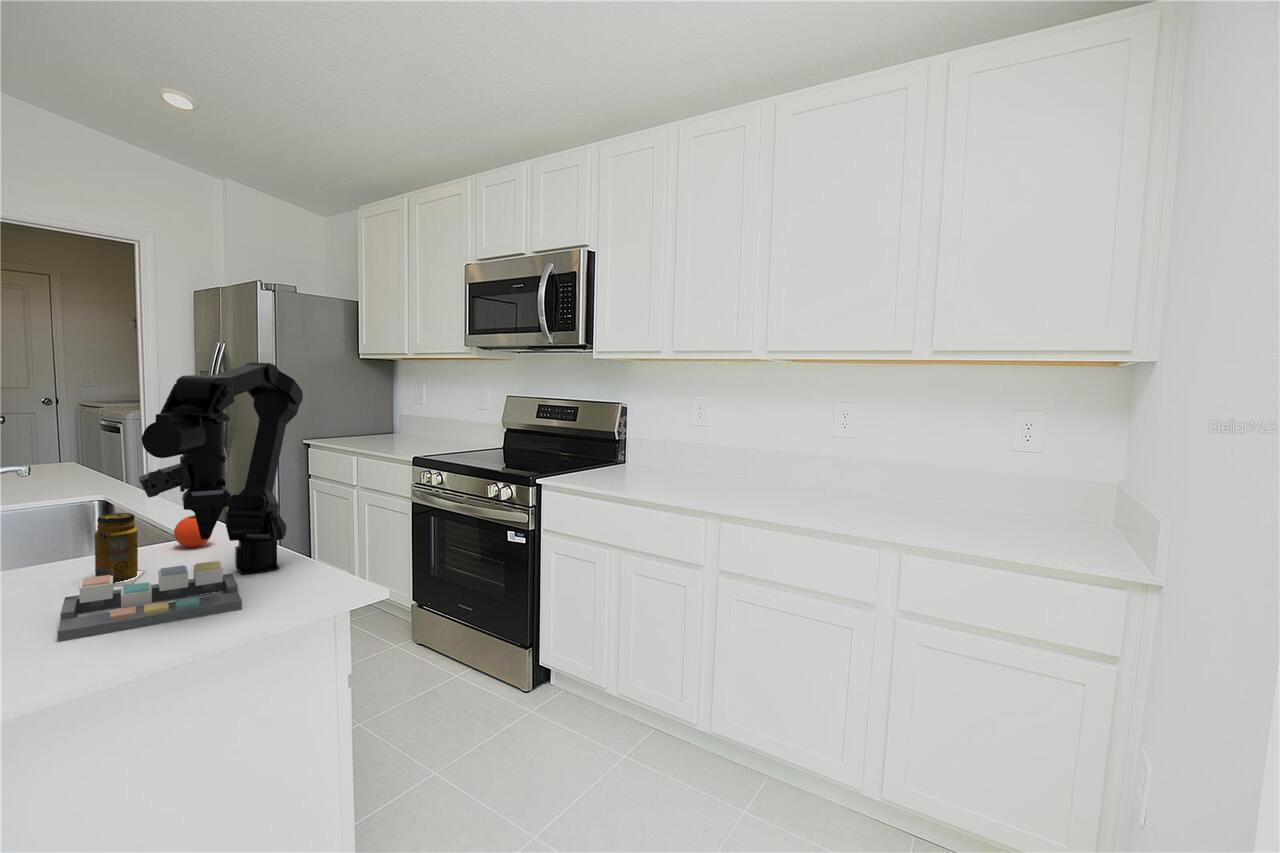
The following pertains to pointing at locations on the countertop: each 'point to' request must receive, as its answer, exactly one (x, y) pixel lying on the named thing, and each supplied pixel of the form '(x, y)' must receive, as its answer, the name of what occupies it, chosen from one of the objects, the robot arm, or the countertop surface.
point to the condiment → (116, 547)
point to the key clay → (96, 590)
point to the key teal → (136, 595)
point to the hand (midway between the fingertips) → (204, 538)
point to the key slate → (173, 579)
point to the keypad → (146, 609)
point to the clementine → (188, 532)
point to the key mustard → (208, 574)
